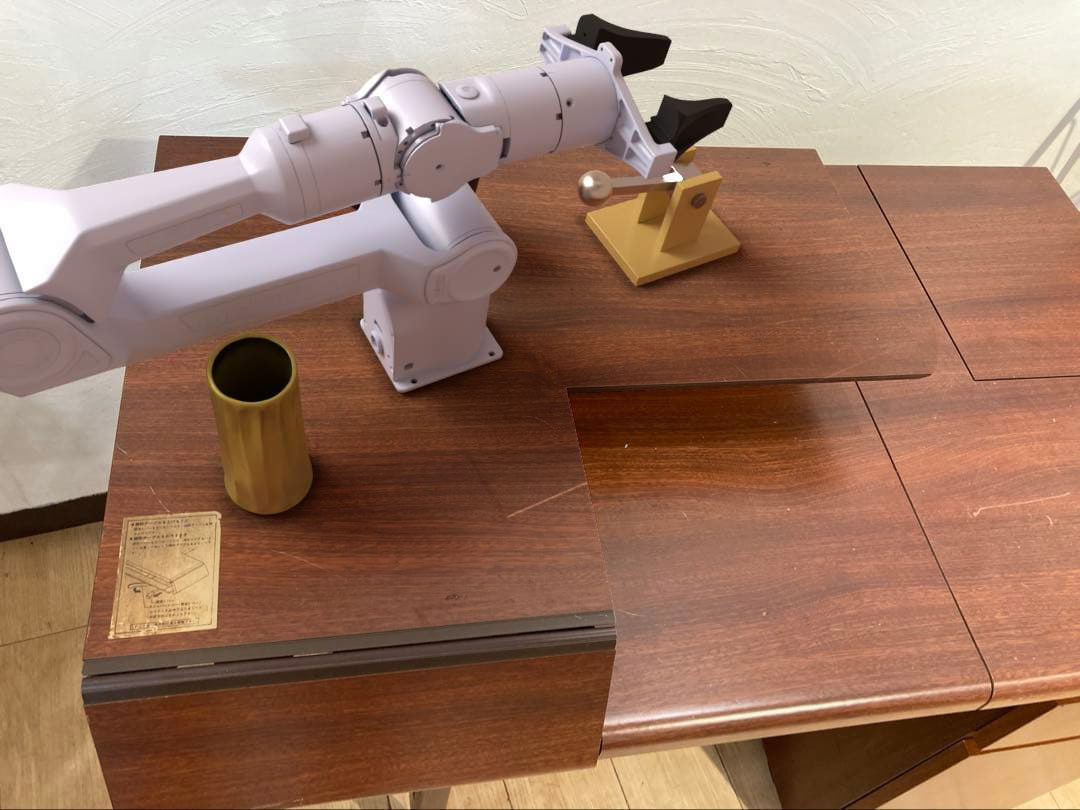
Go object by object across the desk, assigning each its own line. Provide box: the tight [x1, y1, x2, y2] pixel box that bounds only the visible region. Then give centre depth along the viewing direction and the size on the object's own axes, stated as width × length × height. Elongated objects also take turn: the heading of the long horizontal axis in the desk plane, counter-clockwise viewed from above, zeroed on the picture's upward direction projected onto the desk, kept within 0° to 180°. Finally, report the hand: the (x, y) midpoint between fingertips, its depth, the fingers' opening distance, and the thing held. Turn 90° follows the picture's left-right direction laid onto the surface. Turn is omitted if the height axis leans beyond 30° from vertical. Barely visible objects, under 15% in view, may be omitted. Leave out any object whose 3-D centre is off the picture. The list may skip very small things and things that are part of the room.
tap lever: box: [576, 162, 704, 208], centre depth 77 cm, size 13×3×3 cm, turn 119°
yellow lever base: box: [584, 144, 741, 287], centre depth 82 cm, size 12×9×9 cm
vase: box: [205, 332, 314, 516], centre depth 58 cm, size 6×6×14 cm
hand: (694, 80), depth 65 cm, fingers open, 7 cm apart
